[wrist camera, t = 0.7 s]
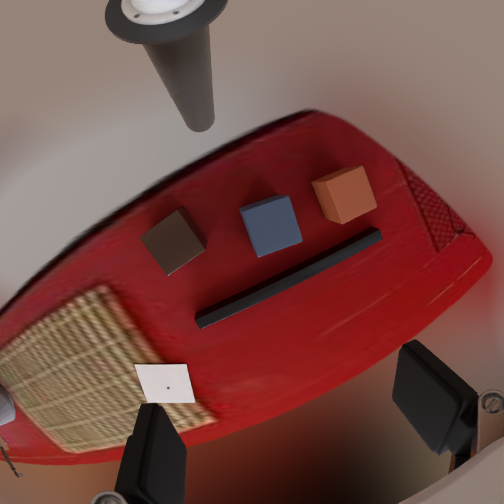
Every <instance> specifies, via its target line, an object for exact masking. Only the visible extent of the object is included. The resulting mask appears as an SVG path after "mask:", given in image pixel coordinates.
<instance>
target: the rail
mask: <svg viewBox="0 0 504 504" xmlns="http://www.w3.org/2000/svg"><path fill="white" fill-rule="evenodd" d="M382 239H383V238H382V235H381V232H380V229H378V228H375V227H371V228H369V229H367V230H365V231H363V232H361V233H359V234H358V235H356V236H354V237H352V238H350V239H348V240H346V241H344V242H342V243H340V244H338V245H336V246H334V247H332V248H330V249H328V250H326V251H324V252H322V253H320V254H319V255H317V256H315V257H313V258H311V259H309V260H307V261H305V262H302V263H300V264H298V265H296V266H294V267H292V268H290V269H288V270H286V271H284V272H282V273H280V274H278V275H276V276H274V277H272V278H270V279H268V280H266V281H264V282H261V283H259V284H257V285H255V286H253V287H251V288H249V289H247V290H245V291H242V292H240V293H238V294H236V295H234V296H232V297H230V298H228V299H225V300H223V301H221V302H219V303H217V304H215V305H212V306H210V307H208V308H206V309H204V310H201V311H199V312H197V313H196V314H195V322H196V323H197V325H198V327H199V328H200V329H202V328H204V327H206V326H209V325H211V324H213V323H215V322H218V321H220V320H222V319H224V318H227V317H229V316H231V315H233V314H235V313H238V312H240V311H242V310H244V309H246V308H248V307H251V306H253V305H255V304H257V303H259V302H261V301H263V300H265V299H268V298H270V297H272V296H274V295H276V294H278V293H280V292H282V291H284V290H286V289H288V288H290V287H292V286H294V285H296V284H298V283H300V282H302V281H304V280H306V279H308V278H310V277H312V276H314V275H316V274H318V273H320V272H322V271H324V270H326V269H328V268H330V267H332V266H334V265H336V264H338V263H339V262H341V261H343V260H345V259H347V258H349V257H351V256H353V255H354V254H356V253H358V252H360V251H362V250H364V249H366V248H367V247H369V246H371V245H373V244H375V243H377V242H378V241H380V240H382Z"/></svg>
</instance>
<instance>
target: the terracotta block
mask: <svg viewBox="0 0 504 504" xmlns="http://www.w3.org/2000/svg"><path fill="white" fill-rule="evenodd" d="M311 184H312V186H313V189H314V191H315V193H316V196H317V198H318V201H319V203H320V206H321V208H322V211H323V213H324V216H325V218H326V219H328V220H331V221H334V222H337V223H340V224H344V223H346V222H348V221H350V220H352V219H354V218H356V217H358V216H360V215H362V214H364V213H366V212H368V211H370V210H372V209H374V208H376V207H377V204H376V201H375V198H374V195H373V192H372V190H371V187H370V184H369V181H368V178H367V176H366V173H365V170H364V168H363V166H355V167H347V168H342V169H340V170H338V171H335V172H333V173H331V174H328V175H326V176H324V177H321V178H319V179H317V180H315V181H312V182H311Z"/></svg>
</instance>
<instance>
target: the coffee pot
mask: <svg viewBox="0 0 504 504" xmlns="http://www.w3.org/2000/svg"><path fill="white" fill-rule="evenodd" d="M14 419H15V408H14V404H13V401H12V399H11V397H10V396H9V394H8V393H7V392H6V391H5V390H4V389H3V388H2V387H1V386H0V426H1V425H3V424H6V423H8V422H10V421H13V420H14ZM0 449H1V451H2V453H3V455H4V457H5V459H6V461H7V463H8V464H9V465H10V467H11V469H12V471H14V473H15V475H16V476H17V477H22V476H23V475H22V476H18V474H22V473H17V472H16V471H15V468H14V467H13V465H12V463H11V460H10V459H9V457H8V455H7V454H6V452H5V450H4V448H3V447H2V446H1V443H0Z"/></svg>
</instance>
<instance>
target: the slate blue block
mask: <svg viewBox="0 0 504 504" xmlns="http://www.w3.org/2000/svg"><path fill="white" fill-rule="evenodd" d="M239 210H240V213H241V215H242V218H243V221H244V224H245V227H246V230H247V233H248V235H249V238H250V241H251V244H252V247H253V249H254V251H255V252H256V254H257V256H258V257H261V256H264V255H266V254H269V253H272V252H275V251H277V250H280V249H283V248H286V247H288V246H291V245H294V244H297V243H299V242H302V241H303V240H302V236H301V233H300V230H299V226H298V223H297V220H296V217H295V213H294V210H293V207H292V204H291V201H290V198H289V196H286V195H276V196H273V197H270V198H267V199H264V200H261V201H258V202H255V203H252V204H249V205H246V206H244V207H241V208H239Z"/></svg>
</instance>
